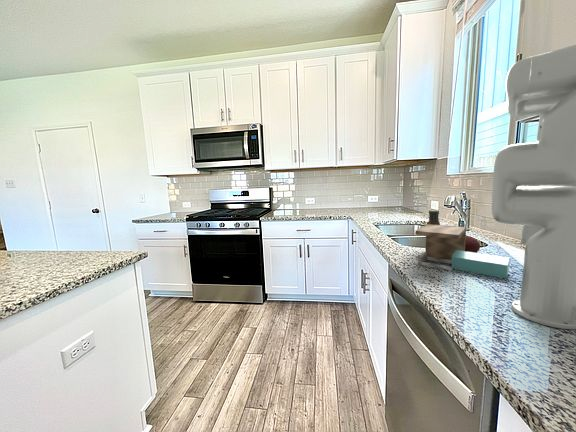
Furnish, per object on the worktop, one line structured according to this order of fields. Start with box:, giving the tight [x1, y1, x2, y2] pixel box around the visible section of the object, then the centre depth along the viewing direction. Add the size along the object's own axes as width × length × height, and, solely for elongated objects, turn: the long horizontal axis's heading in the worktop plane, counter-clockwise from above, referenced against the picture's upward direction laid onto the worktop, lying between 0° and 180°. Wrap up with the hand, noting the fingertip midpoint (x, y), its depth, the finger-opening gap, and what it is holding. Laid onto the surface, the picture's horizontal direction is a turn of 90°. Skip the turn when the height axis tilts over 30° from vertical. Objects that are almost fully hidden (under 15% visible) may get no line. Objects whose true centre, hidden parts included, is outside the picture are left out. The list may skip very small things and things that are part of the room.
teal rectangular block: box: [451, 250, 511, 279], centre depth 93 cm, size 16×6×5 cm, turn 45°
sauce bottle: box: [424, 209, 441, 250], centre depth 116 cm, size 6×6×20 cm
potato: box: [465, 235, 481, 253], centre depth 114 cm, size 12×11×8 cm
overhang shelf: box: [414, 223, 467, 271], centre depth 101 cm, size 14×19×14 cm
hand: (540, 263), depth 82 cm, fingers closed
